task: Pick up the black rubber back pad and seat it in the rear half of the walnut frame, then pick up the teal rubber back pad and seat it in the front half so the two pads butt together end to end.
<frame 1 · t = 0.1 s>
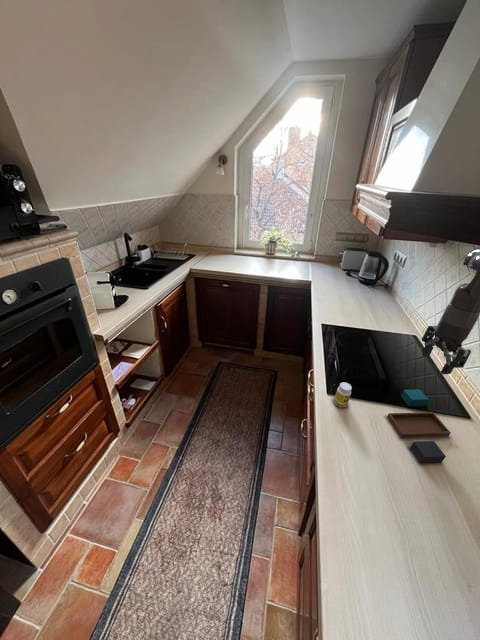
hand: (434, 364, 80), 22 cm above the worktop, tool pointing down, fingers open, 8 cm apart
pad frame: (416, 426, 86), on the worktop
teal pad: (412, 401, 96), on the worktop
supplement bottle: (340, 403, 94), on the worktop
black pad: (424, 455, 77), on the worktop
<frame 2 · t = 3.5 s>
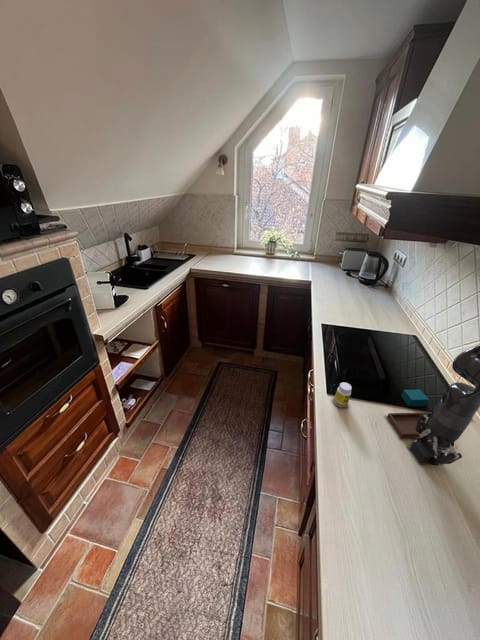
hand: (425, 454, 77), 0 cm above the worktop, tool pointing down, fingers closed on black pad, 5 cm apart
black pad: (424, 455, 77), on the worktop, touching gripper
everything else where it was.
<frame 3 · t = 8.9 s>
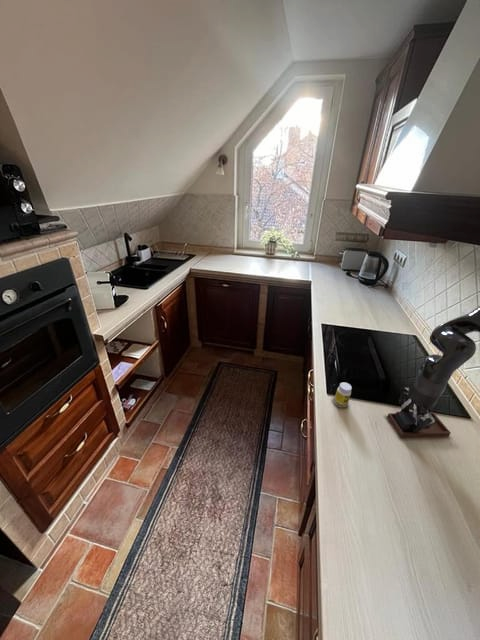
hand: (407, 423, 85), 2 cm above the worktop, tool pointing down, fingers closed on black pad, 5 cm apart
black pad: (406, 424, 85), point 1 cm above the worktop, touching gripper
everything else where it was.
when the fingers open (2 cm above the worktop, at t = 14.4 s): black pad drops 1 cm, resting on pad frame.
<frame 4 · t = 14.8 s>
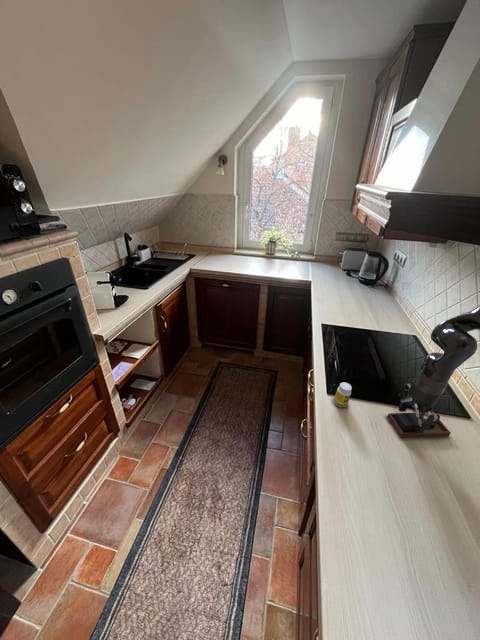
hand: (409, 420, 84), 3 cm above the worktop, tool pointing down, fingers open, 8 cm apart
black pad: (406, 425, 85), point 1 cm above the worktop, touching pad frame
everything else where it was.
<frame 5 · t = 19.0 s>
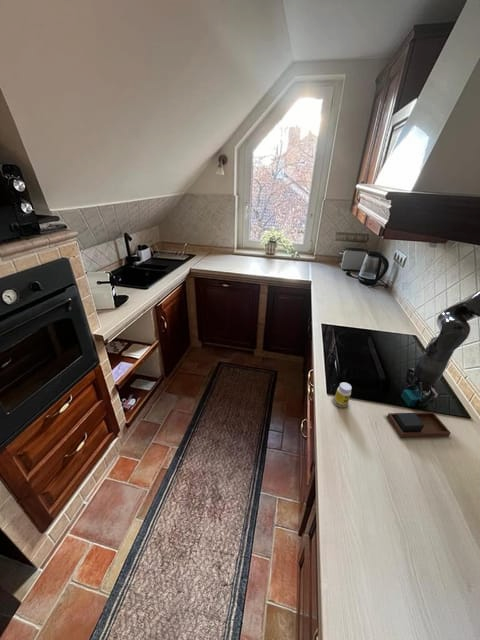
hand: (413, 400, 96), 0 cm above the worktop, tool pointing down, fingers closed on teal pad, 5 cm apart
teal pad: (412, 401, 96), on the worktop, touching gripper
everything else where it was.
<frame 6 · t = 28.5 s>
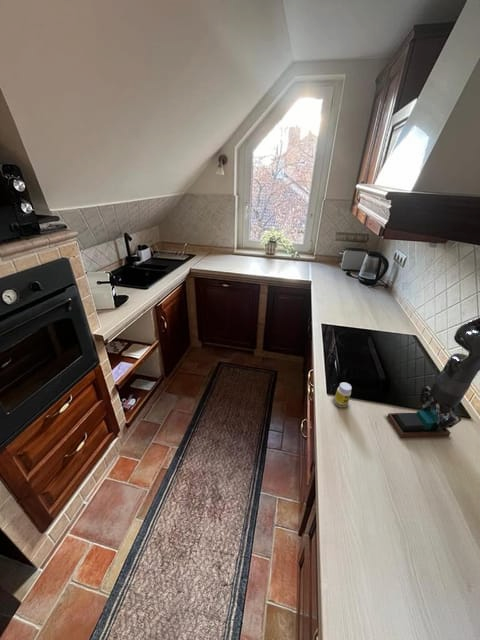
hand: (428, 422, 85), 2 cm above the worktop, tool pointing down, fingers closed on teal pad, 5 cm apart
teal pad: (427, 423, 85), point 2 cm above the worktop, touching gripper
everything else where it was.
when the fingers open (2 cm above the worktop, at t = 30.0 s): teal pad drops 1 cm, resting on pad frame.
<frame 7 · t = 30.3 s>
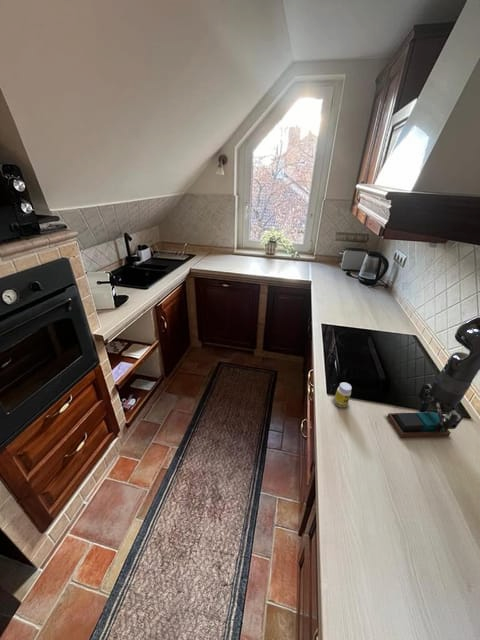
hand: (429, 420, 85), 3 cm above the worktop, tool pointing down, fingers open, 7 cm apart
teal pad: (426, 425, 86), point 1 cm above the worktop, touching pad frame
everything else where it was.
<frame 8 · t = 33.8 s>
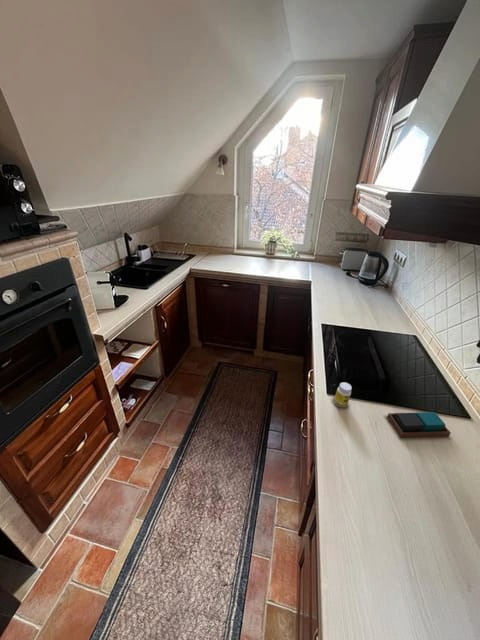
nothing on the worktop moved.
at the end: black pad 0.3 cm from the target spot in the pad frame, point 0.6 cm above the pad frame's base; teal pad 0.5 cm from the target spot in the pad frame, point 0.6 cm above the pad frame's base; teal pad 7.2 cm from the black pad (horizontally) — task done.
